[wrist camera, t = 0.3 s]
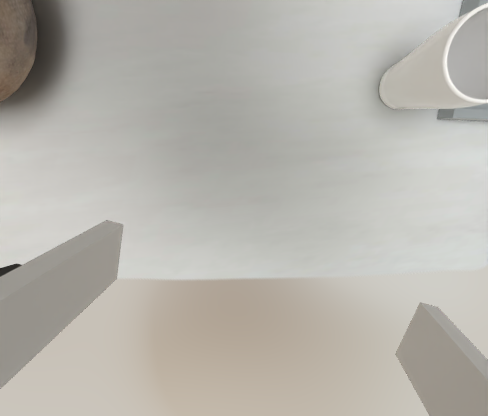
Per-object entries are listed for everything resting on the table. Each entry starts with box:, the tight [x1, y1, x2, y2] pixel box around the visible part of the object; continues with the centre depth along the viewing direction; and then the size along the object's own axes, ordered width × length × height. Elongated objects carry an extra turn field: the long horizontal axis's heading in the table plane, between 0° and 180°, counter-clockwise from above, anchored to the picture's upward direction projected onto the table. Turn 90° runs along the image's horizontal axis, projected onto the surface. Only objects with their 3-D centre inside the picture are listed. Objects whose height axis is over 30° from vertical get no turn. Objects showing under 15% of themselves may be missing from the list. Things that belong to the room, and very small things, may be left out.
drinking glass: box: [379, 3, 488, 110], centre depth 27 cm, size 7×7×15 cm
